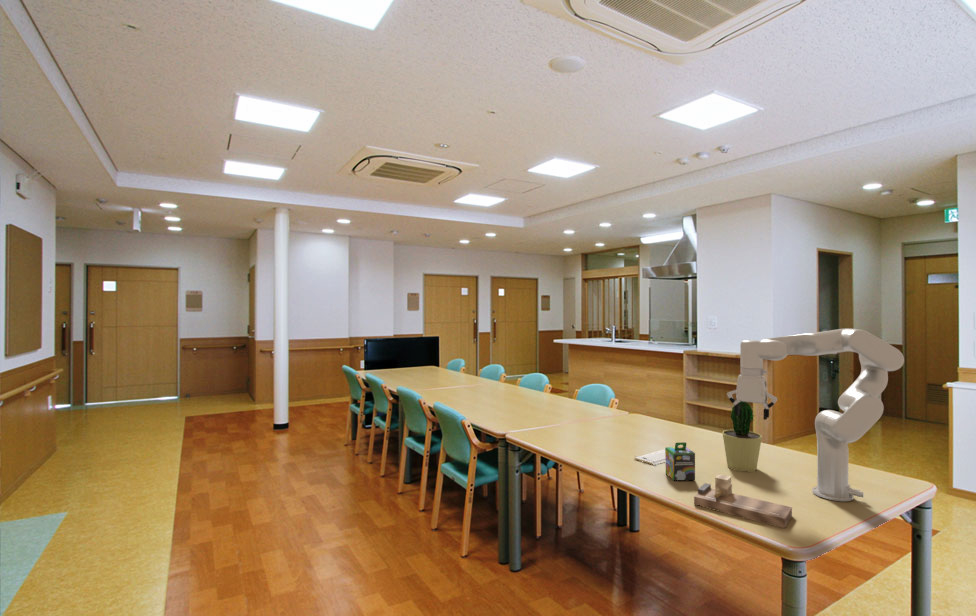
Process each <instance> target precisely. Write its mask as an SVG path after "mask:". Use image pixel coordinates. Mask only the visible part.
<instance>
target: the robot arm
mask: <svg viewBox="0 0 976 616" xmlns="http://www.w3.org/2000/svg"><path fill="white" fill-rule="evenodd" d="M846 352H852V353H857V354H858V360H859V363H860V368H861V369H860V374H859V375H858V377H857V378H856V379H855V380H854V382H852V384H851V385H850V386H849V387H848V388H847V389H846V390H845V391H844V392H842V394H841V395H840V396H839V397H838V400H837V405H838V407H839V409H840V410H842V411H843V413H842V412H840V411H836V410H833V409H826V410H825V409H824V410H821V411H820V412H819V413H817V414H816V416H815V419H814V427H815V433H816V435H815V436H816V444H817V446H816V447H817V449H816V450H817V451H816V452H817V458H816V460H817V461H816V462H817V463H816V465H817V466H816V467H817V469H816V472H817V477H816V481H817V482H816V484H817V485H816V486H814V487H812V489H811V490H812V491H811V492H812V493H813V494H814V495H816V496H818V497H819V498H823V499H826V500H830V501H835V502H851V500H852V501H853V500H854V497H855V496H856V497H859V498H864V491H860V489H854V488H852V487H851V484H850V483H849V444H851V443H854V442H856V441H858V440H860V439H861V438H862V437H863V436H865V434H866V433H867V432H868V431H869V430H870V429H871V428H872V427H873V426H874V425H875V424H876V423H877V422H878V420H880V418H881V417H882V416H883V414H884V410H885V409H884V407H885V406H884V403H883V401H882V399H880V398H879V397H880V395H881V394H882V393H883V392H884V391H885V389H886V387H887V386H888V381H889V376H888V375H889V372H894V371H897V370H900V369H901V368H902V367H903V366H904V364H905V357H904V355H903V353H902V352H901V351H900V349H898V348H897V347H895V346H893V345H892V344H889V343H888V342H887V341H885V340H883V339H881V338H879V337H878V336H877V335H874V334H872V332H871V333H870V332H869V331H867V330H864V329H860V328H859V329H858V328H847V327H846V328H838V329H831V330H824V331H816V332H810V333H801V334H794V335H786V336H785V335H783V336H777V337H771V338H770V337H769V338H764V339H762V340H756V339H755V340H754V339H753V340H752V339H749V340H748V339H745V340H742V341H741V342H740V354H739V356H740V357H739V358H740V359H739V360H740V361H739V362H740V374H738V377H737V382H736V389H733V390H731V391H728V392H727V393H726V396H727V398H728V400H729V401H730V402H731V403H732V405H733V407H734V413H736V416H738V415H740V405H739V402H740V401H743V402H746V403H748V402H749V403H750V404H751V403H753V404H761V405H762V406H763V407H764V408H763V420H764V421H765V420H767V419H768V418H770V408H772V407H773V406H774V405H775V404H776V402H777V401H778V397H777V396H774V395H773V394H771V393H769V392H768V386H767V379H766V376H764V375H767V374H768V371H767V370H765V369H764V367H763V365H764V364H763V363H764V362H763V360H769V361H781V360H784V359H785V358H786V357H787V356H790V355H791V356H792V355H793V356H795V355H796V356H799V355H800V356H811V357H812V356H813V357H814V356H822V355H829V354H836V353H846ZM733 395H735V398H736V399H735V398H734V397H733ZM768 399H771V401H770V403H768Z"/></svg>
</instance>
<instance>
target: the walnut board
mask: <svg viewBox="0 0 976 616" xmlns="http://www.w3.org/2000/svg"><path fill="white" fill-rule="evenodd" d="M711 485H712V484H711V483H706V482H704V483H703V484H702V485H701V486H700V487H698V488H697V494H696V493H695V495H694V496H693V502H694V503H693V505H694V504H696V505H695V506H697V505H700V506H699V507H701V506H704V507H708V508H711V509H710V510H712V509H715V510H714V511H716V510H719V511H718V512H720V511H722V512H721V513H724V512H726V513H725V514H728V513H729V514H728V515H731V514H733V515H732V516H735V515H736V517H739V516H740V517H739V518H743V517H744V519H747V518H748V520H752V521H755V522H760V523H763V524H766V525H767V524H768V525H770V526H775V527H778V528H781V529H785V528H786V527H787V525H788V524H789V522H790V520H791V519H792V517H793V507H792V506H788V505H783V504H780V503H775V502H770V501H767V500H762V499H757V498H754V497H749V496H744V495H741V494H737V493H733V492H732V493H731V494H730V495H729V496H728V497H725V496H721V495H720V496H719V497H718V500H716V498H715V497H714V495H715V488H712V487H711ZM704 507H703V508H704ZM708 508H707V509H708Z"/></svg>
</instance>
